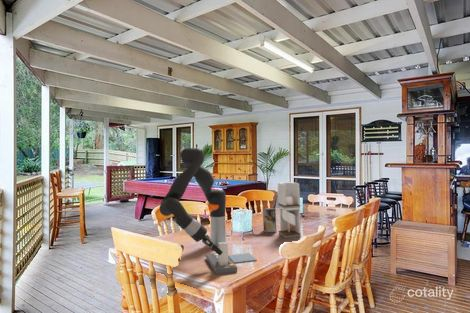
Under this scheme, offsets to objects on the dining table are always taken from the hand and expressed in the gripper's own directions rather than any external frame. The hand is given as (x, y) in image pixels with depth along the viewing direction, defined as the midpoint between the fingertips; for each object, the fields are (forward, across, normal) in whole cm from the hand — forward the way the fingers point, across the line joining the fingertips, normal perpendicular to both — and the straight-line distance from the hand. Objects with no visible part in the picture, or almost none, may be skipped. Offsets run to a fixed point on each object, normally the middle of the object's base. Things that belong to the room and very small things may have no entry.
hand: (219, 251), depth 156 cm
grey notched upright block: (+48, +47, -36) cm, 77 cm away
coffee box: (+43, +62, -30) cm, 81 cm away
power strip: (+7, +7, +5) cm, 11 cm away
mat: (+16, +11, -4) cm, 20 cm away
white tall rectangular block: (+7, 0, +5) cm, 9 cm away
